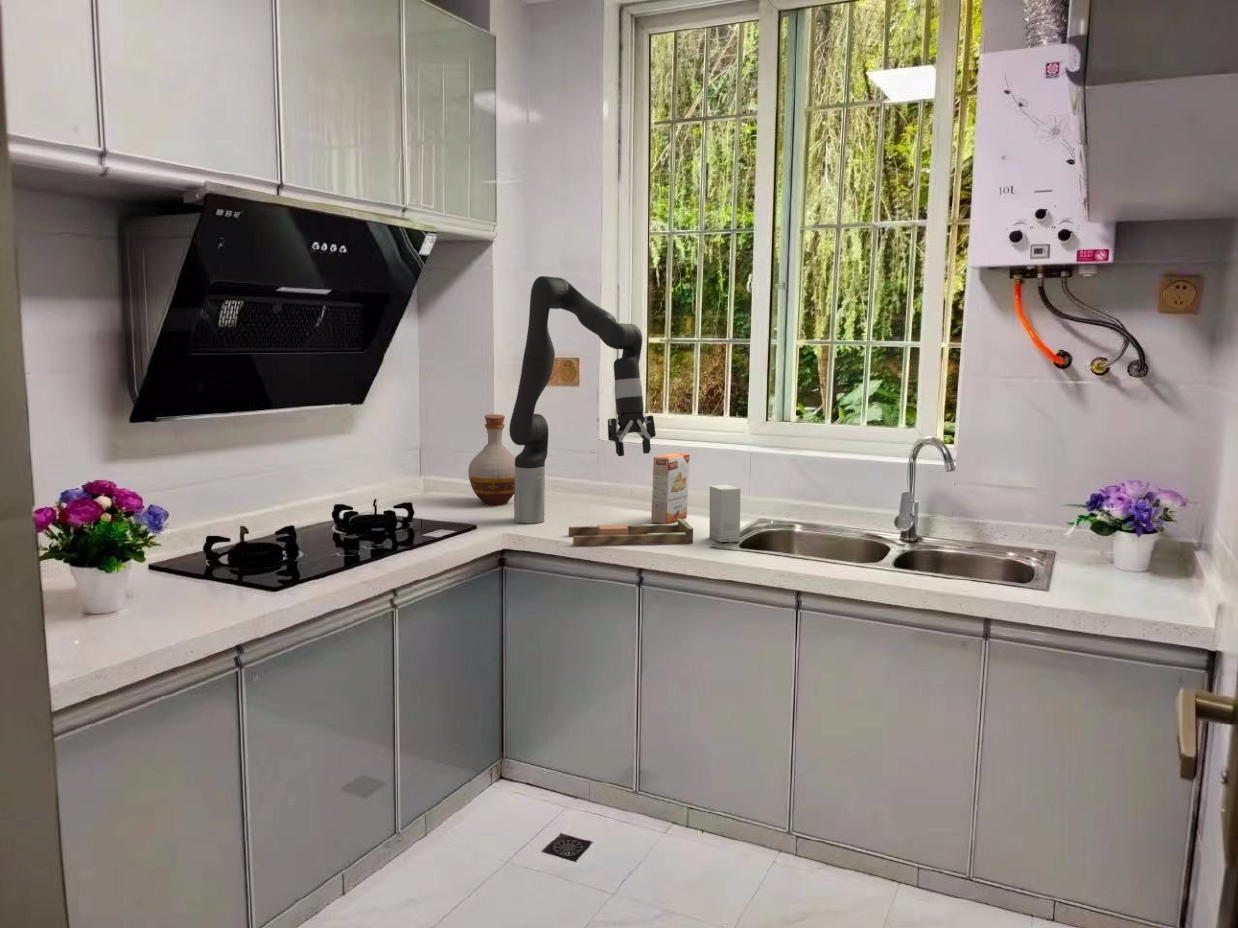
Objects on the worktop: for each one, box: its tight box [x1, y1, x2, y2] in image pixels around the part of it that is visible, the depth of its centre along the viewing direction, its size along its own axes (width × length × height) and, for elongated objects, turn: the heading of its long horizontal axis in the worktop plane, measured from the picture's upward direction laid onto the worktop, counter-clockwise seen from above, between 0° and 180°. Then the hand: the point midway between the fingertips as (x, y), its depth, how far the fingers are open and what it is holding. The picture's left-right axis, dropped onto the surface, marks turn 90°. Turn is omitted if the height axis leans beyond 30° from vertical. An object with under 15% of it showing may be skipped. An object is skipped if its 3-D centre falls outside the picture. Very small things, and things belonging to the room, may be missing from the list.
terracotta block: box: [597, 524, 628, 535], centre depth 266 cm, size 8×5×4 cm, turn 101°
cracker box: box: [650, 452, 690, 524], centre depth 291 cm, size 14×6×21 cm, turn 148°
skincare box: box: [709, 484, 741, 543], centre depth 267 cm, size 8×7×16 cm
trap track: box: [568, 518, 694, 547], centre depth 266 cm, size 34×13×4 cm, turn 99°
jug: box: [467, 413, 516, 506], centre depth 314 cm, size 20×18×30 cm
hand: (633, 454), depth 256 cm, fingers open, 8 cm apart
